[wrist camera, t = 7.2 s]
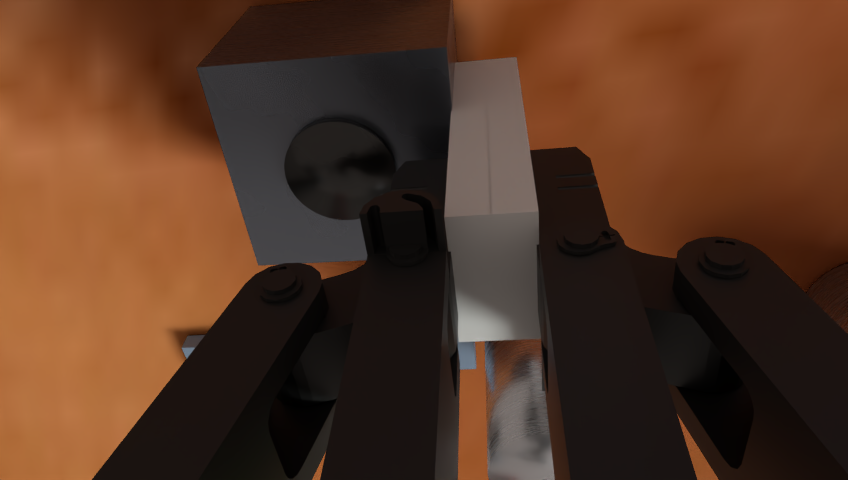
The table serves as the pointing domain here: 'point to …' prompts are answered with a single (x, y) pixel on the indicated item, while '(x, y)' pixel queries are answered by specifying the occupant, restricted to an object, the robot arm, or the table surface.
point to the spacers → (526, 402)
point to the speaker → (327, 114)
